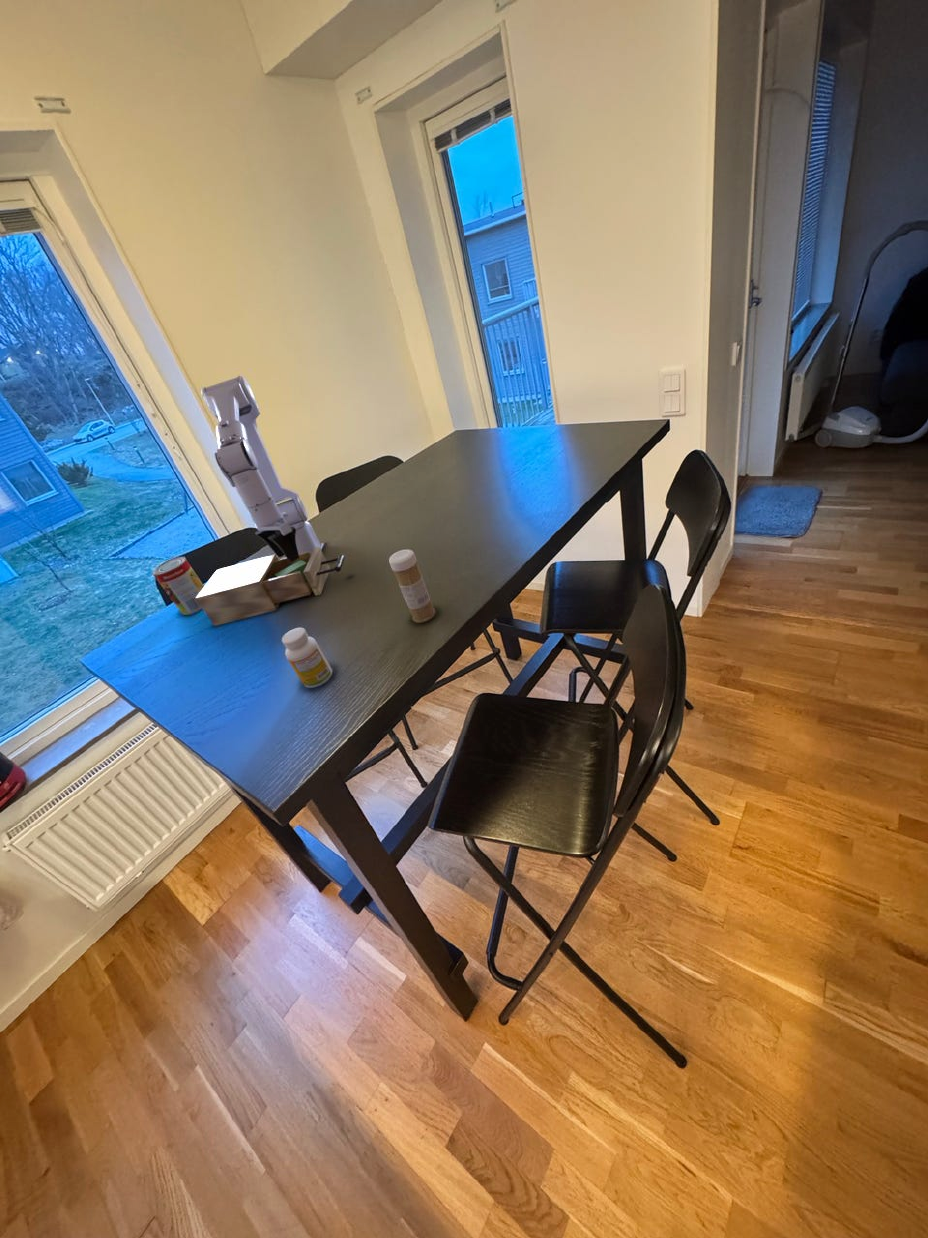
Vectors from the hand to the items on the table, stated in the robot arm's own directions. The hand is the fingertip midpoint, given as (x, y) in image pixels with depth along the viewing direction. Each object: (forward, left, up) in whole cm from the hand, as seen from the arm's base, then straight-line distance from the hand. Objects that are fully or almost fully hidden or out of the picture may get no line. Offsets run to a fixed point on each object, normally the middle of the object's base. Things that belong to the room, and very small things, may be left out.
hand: (288, 557), depth 109 cm
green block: (0, -1, -7) cm, 7 cm away
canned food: (-7, -31, -9) cm, 33 cm away
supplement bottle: (+34, +11, -9) cm, 37 cm away
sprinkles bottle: (+23, +30, -9) cm, 39 cm away
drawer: (0, +1, -8) cm, 8 cm away
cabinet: (0, -13, -9) cm, 16 cm away
